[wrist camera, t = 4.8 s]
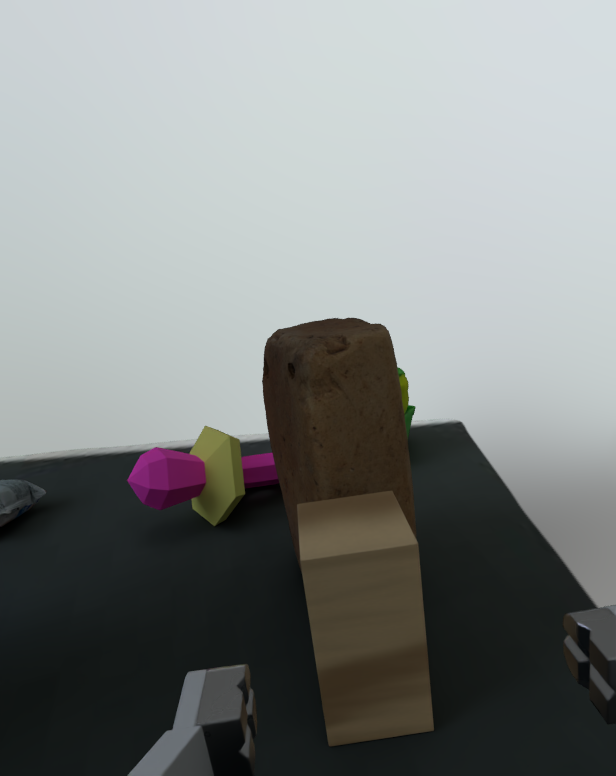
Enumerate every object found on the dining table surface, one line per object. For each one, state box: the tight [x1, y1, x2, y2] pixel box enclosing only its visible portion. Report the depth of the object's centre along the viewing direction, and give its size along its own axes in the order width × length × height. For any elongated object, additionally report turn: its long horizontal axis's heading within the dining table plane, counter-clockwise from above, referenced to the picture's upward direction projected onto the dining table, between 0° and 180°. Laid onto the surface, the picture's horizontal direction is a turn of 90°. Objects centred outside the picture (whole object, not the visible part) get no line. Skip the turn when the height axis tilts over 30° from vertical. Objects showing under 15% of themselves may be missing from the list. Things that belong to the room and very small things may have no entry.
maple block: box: [297, 491, 434, 746], centre depth 26 cm, size 6×6×11 cm
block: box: [262, 318, 416, 572], centre depth 35 cm, size 11×8×20 cm
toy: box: [127, 426, 279, 526], centre depth 50 cm, size 10×18×10 cm, turn 126°
